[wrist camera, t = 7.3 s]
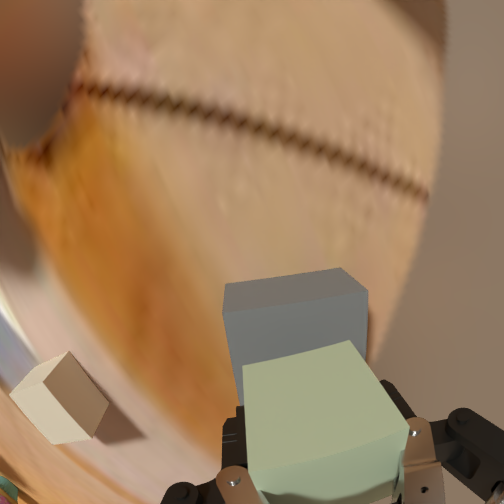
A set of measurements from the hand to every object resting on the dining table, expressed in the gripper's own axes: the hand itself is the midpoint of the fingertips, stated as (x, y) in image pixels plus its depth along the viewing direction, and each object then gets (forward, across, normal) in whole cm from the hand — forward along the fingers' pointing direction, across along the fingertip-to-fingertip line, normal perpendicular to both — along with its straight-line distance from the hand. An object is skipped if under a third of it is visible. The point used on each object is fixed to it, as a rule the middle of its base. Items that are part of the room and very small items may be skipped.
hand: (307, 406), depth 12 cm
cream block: (+9, +20, +3) cm, 22 cm away
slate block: (+9, 0, 0) cm, 9 cm away
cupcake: (+9, +58, +30) cm, 66 cm away
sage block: (+1, 0, 0) cm, 1 cm away
